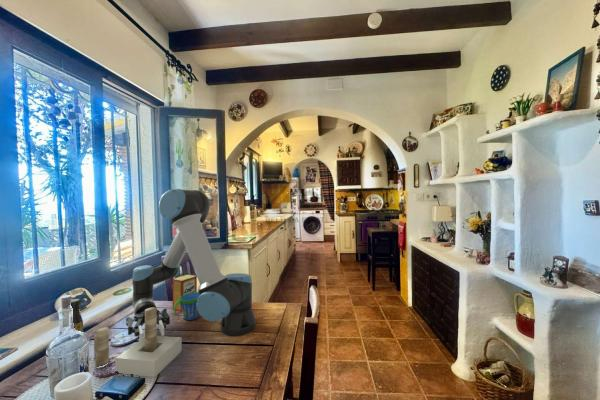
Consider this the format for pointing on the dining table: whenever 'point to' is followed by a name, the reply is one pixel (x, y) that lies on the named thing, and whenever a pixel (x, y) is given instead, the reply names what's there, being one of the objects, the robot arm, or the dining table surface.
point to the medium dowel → (102, 346)
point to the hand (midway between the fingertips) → (152, 334)
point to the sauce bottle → (77, 315)
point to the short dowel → (94, 346)
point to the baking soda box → (183, 288)
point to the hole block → (148, 357)
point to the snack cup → (188, 305)
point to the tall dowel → (150, 329)
